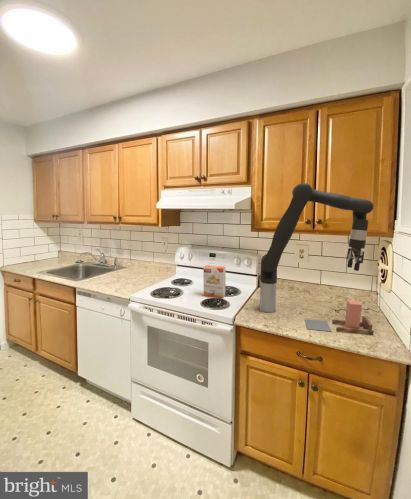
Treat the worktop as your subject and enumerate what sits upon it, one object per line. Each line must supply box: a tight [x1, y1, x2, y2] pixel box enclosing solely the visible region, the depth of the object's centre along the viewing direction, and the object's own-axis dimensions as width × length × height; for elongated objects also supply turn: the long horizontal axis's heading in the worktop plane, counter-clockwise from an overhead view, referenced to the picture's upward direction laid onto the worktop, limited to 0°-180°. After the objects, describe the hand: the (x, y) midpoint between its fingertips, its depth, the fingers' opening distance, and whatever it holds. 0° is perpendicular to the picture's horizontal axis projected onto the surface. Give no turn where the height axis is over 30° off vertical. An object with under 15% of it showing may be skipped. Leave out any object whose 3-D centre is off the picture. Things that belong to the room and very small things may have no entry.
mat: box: [304, 318, 333, 333], centre depth 132 cm, size 11×11×1 cm
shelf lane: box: [331, 315, 375, 336], centre depth 128 cm, size 16×9×5 cm, turn 77°
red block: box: [344, 299, 363, 329], centre depth 127 cm, size 5×5×14 cm
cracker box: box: [203, 264, 227, 299], centre depth 172 cm, size 14×6×21 cm, turn 69°
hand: (352, 268), depth 136 cm, fingers open, 8 cm apart
